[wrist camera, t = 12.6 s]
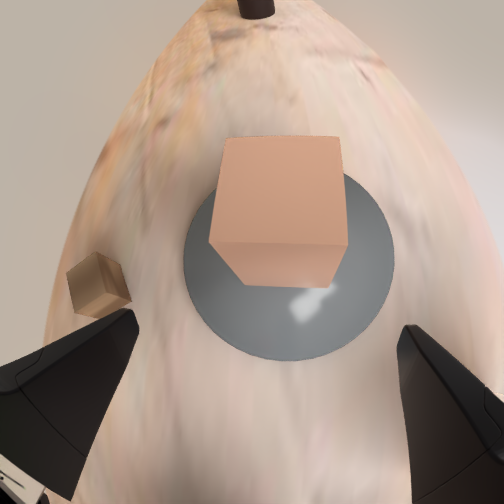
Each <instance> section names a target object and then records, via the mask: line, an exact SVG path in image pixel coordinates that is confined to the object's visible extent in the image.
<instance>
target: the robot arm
mask: <svg viewBox="0 0 504 504" xmlns="http://www.w3.org/2000/svg"><path fill="white" fill-rule="evenodd" d="M138 335H139V325H138V322H137V320H136V317H135V314H134V312H133V310H131V309H127V308H121V309H119V310H117V311H115V312H113V313H111V314H109V315H107V316H105V317H103V318H101V319H99V320H97V321H95V322H93V323H91V324H89V325H87V326H85V327H83V328H81V329H79V330H77V331H75V332H73V333H71V334H69V335H67V336H65V337H63V338H61V339H59V340H57V341H55V342H53V343H51V344H49V345H47V346H45V348H44V347H43V348H41V349H39V350H37V351H35V352H33V353H31V354H29V355H27V356H24V357H22V358H20V359H18V360H15V361H13V362H11V363H8V364H6V365H3V366H1V367H0V504H50V503H49V500H48V496H47V495H46V494H45V493H44V490H45V488H46V487H47V488H48V489H50V490H51V491H53V492H55V493H56V494H58V495H60V496H61V497H63V498H65V499H67V500H69V501H71V499H72V497H73V494H74V492H75V489H76V486H77V483H78V480H79V478H80V475H81V472H82V470H83V467H84V464H85V462H86V459H87V456H88V454H89V451H90V449H91V446H92V444H93V441H94V439H95V437H96V434H97V432H98V429H99V427H100V425H101V422H102V420H103V418H104V415H105V413H106V411H107V409H108V406H109V404H110V402H111V400H112V397H113V395H114V393H115V391H116V389H117V387H118V384H119V382H120V380H121V378H122V376H123V374H124V372H125V369H126V367H127V365H128V362H129V359H130V356H131V354H132V351H133V348H134V345H135V343H136V340H137V337H138ZM397 359H398V369H399V382H400V393H401V399H402V405H403V411H404V418H405V425H406V432H407V440H408V449H409V459H410V472H411V489H412V503H413V504H504V402H503V401H502V400H501V399H499V398H498V397H497V396H496V395H495V394H494V393H493V392H492V391H491V390H490V389H489V388H488V387H485V385H484V384H483V383H482V382H481V381H480V380H479V379H478V378H477V377H476V376H475V375H473V374H472V373H471V372H470V371H469V370H468V369H467V368H466V367H465V366H464V365H462V364H461V363H460V362H459V361H458V360H457V359H456V358H455V357H453V356H452V355H451V354H450V353H449V352H448V351H447V350H446V349H444V348H443V347H442V346H441V345H440V344H439V343H437V342H436V341H435V340H434V339H433V338H432V337H430V336H429V335H428V334H427V333H426V332H425V331H423V330H422V329H421V328H420V327H419V326H417V325H405V326H404V327H403V329H402V332H401V335H400V338H399V341H398V344H397Z"/></svg>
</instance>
